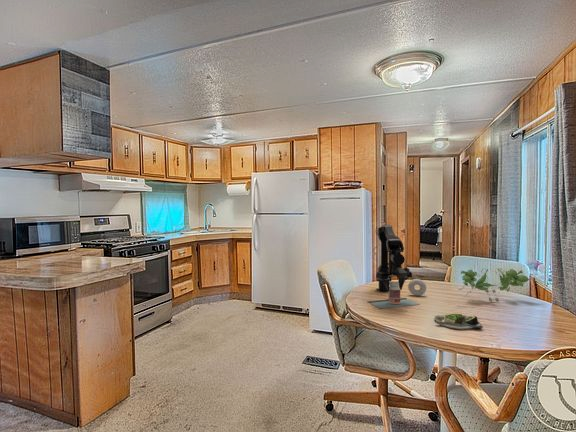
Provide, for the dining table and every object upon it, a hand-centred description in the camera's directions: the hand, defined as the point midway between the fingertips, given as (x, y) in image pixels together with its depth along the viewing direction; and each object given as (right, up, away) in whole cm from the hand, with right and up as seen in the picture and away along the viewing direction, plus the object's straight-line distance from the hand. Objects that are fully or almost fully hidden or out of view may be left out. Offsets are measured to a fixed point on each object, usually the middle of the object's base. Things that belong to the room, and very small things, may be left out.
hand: (394, 290), depth 176 cm
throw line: (-2, -7, +7) cm, 10 cm away
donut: (+19, -7, +16) cm, 25 cm away
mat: (0, -7, 0) cm, 7 cm away
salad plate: (+19, -8, -31) cm, 37 cm away
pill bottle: (0, -7, 0) cm, 7 cm away
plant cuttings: (+54, -7, +6) cm, 55 cm away
